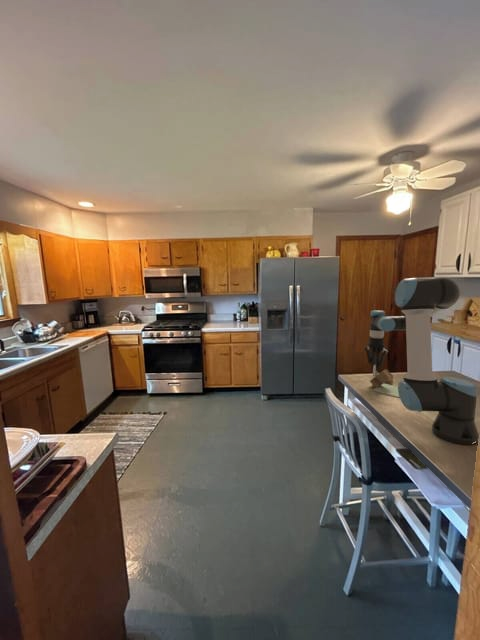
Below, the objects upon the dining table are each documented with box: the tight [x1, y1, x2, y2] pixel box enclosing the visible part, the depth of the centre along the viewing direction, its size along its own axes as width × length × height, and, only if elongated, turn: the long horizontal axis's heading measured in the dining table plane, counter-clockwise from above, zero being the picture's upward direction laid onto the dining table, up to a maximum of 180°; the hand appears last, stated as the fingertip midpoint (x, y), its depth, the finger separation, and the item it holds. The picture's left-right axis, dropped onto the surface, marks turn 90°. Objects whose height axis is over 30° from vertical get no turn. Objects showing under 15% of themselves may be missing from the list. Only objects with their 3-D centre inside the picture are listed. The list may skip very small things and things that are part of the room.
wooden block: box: [369, 368, 394, 389], centre depth 165 cm, size 5×5×11 cm
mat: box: [372, 383, 400, 399], centre depth 161 cm, size 14×14×1 cm
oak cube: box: [383, 373, 394, 385], centre depth 173 cm, size 5×5×5 cm
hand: (375, 375), depth 167 cm, fingers closed
